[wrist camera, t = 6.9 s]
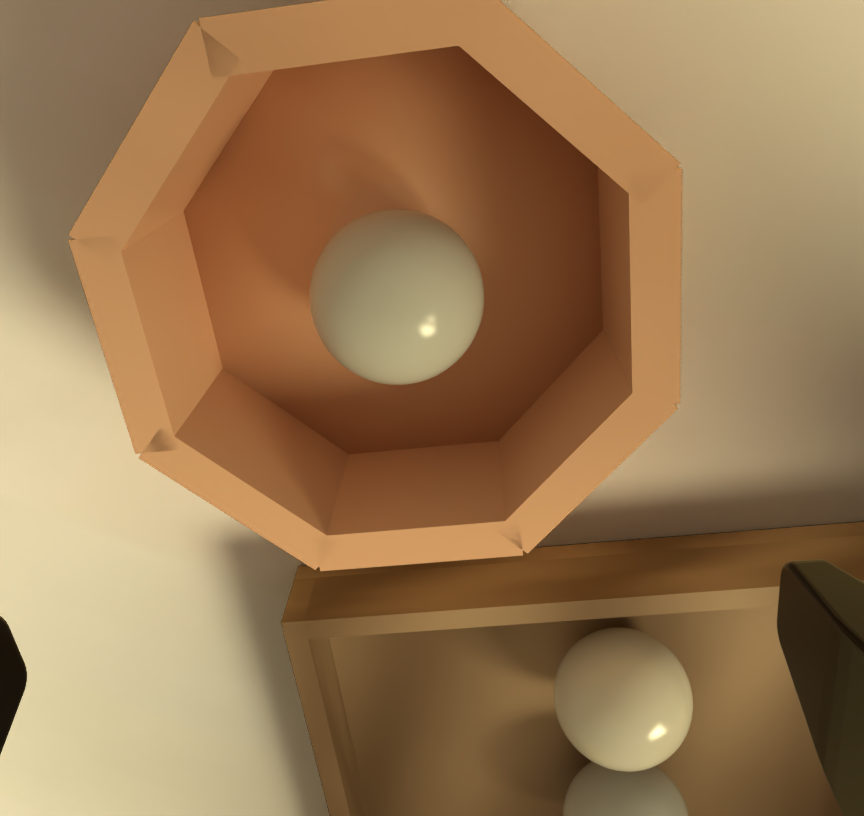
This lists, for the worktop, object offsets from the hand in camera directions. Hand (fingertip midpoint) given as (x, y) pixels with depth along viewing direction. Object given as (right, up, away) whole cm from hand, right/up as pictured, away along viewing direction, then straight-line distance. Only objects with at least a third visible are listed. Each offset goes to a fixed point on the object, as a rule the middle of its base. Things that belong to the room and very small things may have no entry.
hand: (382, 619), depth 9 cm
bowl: (0, +6, +10) cm, 11 cm away
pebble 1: (0, +5, +7) cm, 9 cm away
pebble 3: (+6, -10, +14) cm, 18 cm away
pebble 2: (+6, -5, +12) cm, 14 cm away
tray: (+6, -9, +16) cm, 19 cm away
